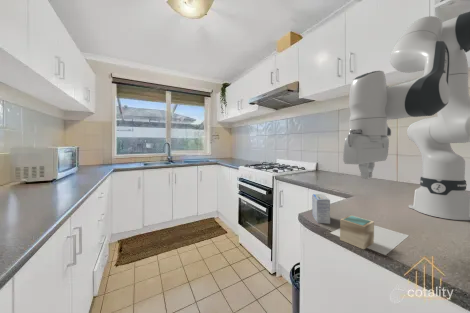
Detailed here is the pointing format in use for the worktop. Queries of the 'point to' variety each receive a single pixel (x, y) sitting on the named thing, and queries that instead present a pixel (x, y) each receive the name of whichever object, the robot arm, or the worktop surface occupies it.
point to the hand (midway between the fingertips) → (366, 178)
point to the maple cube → (357, 231)
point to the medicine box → (321, 208)
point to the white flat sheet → (382, 239)
